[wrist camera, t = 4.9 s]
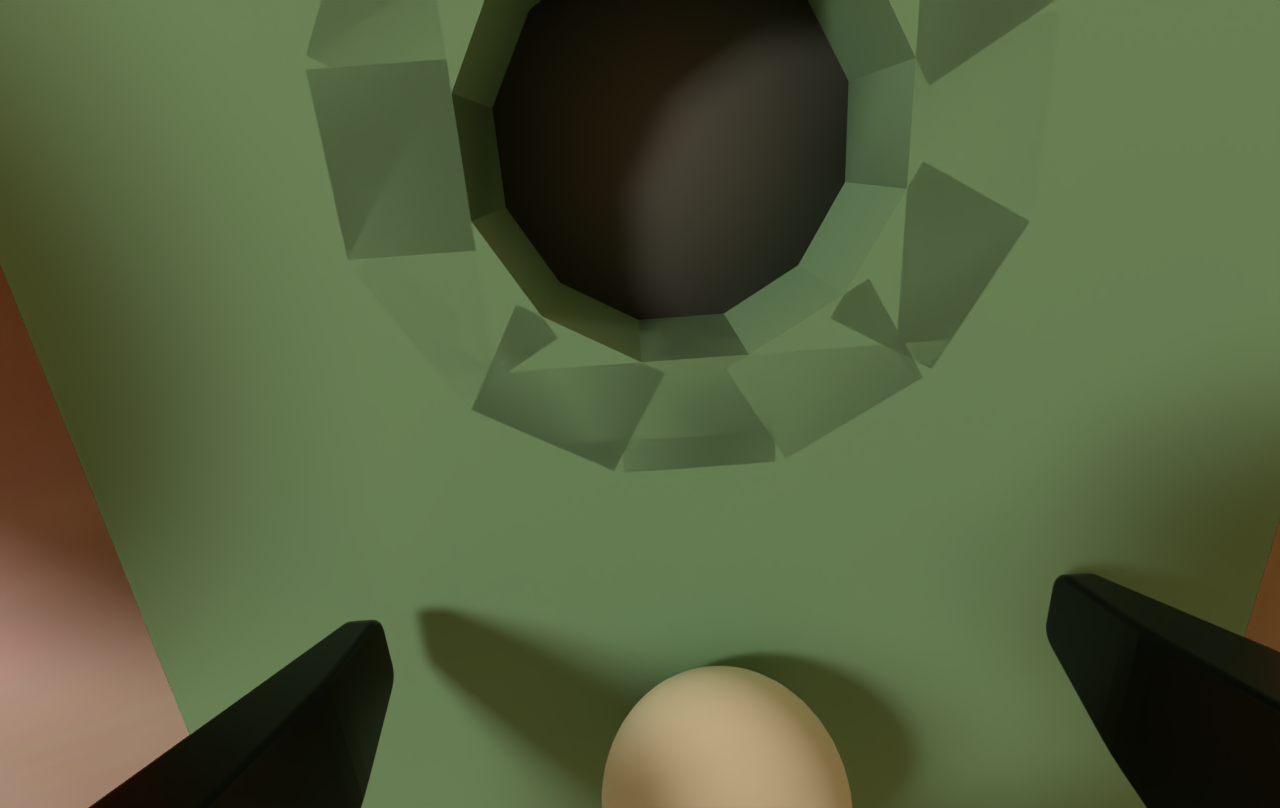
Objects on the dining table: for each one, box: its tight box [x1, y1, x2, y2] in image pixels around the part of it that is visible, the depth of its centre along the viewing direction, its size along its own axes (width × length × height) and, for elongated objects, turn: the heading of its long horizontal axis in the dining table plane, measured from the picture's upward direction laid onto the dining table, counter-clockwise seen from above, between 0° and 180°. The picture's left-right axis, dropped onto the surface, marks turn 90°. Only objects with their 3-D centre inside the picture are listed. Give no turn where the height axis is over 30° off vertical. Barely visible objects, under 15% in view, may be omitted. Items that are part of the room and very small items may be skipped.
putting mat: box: [0, 0, 1280, 808], centre depth 11 cm, size 20×16×2 cm
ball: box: [602, 666, 852, 808], centre depth 9 cm, size 3×3×3 cm
